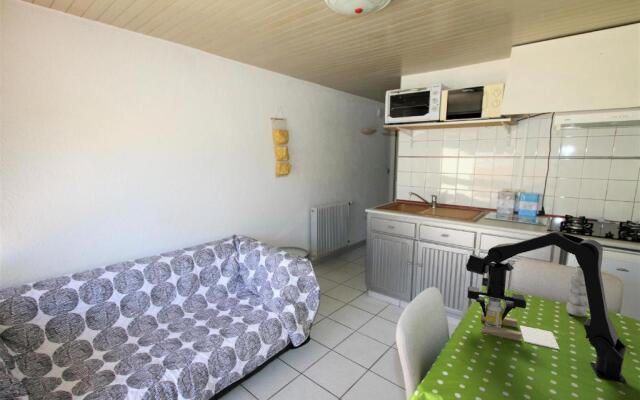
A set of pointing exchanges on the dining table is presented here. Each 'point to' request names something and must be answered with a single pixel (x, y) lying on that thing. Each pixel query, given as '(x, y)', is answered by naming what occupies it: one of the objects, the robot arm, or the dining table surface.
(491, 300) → the supplement bottle
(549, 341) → the white square plate
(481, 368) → the dining table surface
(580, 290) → the plastic bottle
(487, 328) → the wooden lane
